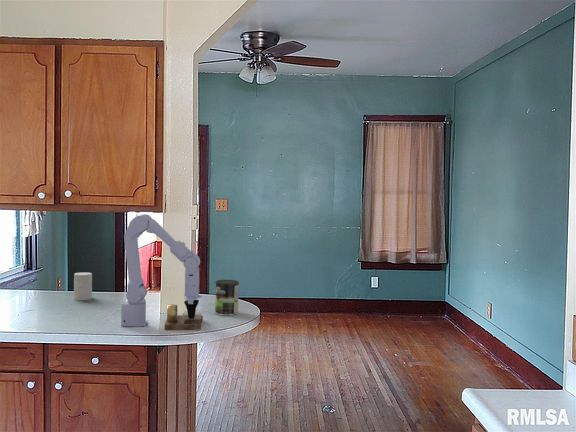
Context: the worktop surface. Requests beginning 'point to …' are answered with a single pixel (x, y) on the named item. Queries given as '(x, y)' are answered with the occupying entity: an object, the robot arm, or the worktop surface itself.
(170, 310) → the brass pin
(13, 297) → the worktop surface
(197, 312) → the cover
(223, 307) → the coffee can
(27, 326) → the worktop surface
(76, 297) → the cup
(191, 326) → the walnut board
